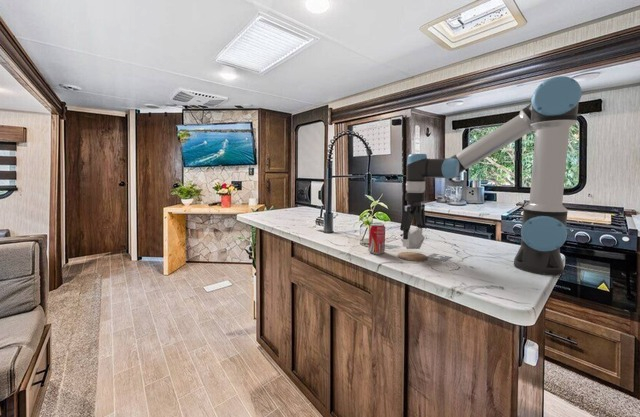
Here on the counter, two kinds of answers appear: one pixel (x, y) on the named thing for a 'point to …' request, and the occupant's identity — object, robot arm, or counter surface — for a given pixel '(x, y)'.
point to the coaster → (412, 256)
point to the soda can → (377, 238)
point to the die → (415, 239)
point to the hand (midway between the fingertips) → (412, 244)
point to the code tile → (439, 257)
